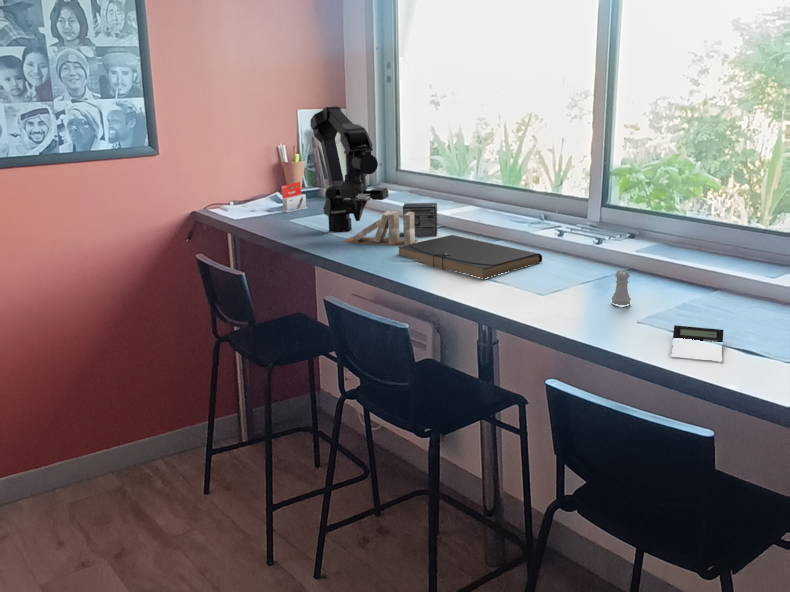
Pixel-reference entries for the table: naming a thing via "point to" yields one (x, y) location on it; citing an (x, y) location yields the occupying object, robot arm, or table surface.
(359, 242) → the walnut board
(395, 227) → the domino
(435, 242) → the book
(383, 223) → the domino
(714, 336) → the calculator
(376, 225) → the domino
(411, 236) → the domino
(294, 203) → the ink cartridge box
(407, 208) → the small box
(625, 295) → the rook chess piece
